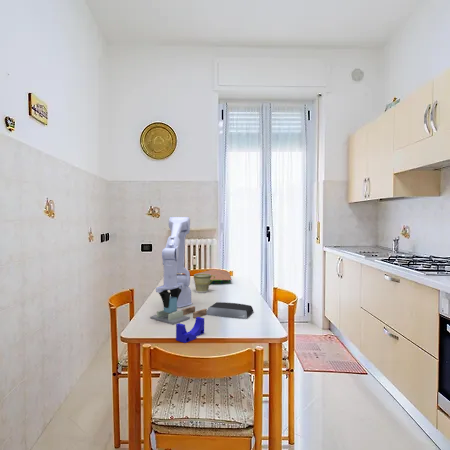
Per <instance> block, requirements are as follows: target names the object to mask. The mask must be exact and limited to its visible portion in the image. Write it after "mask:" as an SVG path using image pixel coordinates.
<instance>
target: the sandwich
mask: <svg viewBox="0 0 450 450" xmlns="http://www.w3.org/2000/svg"><path fill="white" fill-rule="evenodd" d="M201 273H203V274H210V275H214V276H215V279H214V276H212V277H211V278H210V282H211V281H212V280H213V279H214V280H213V281H212V282H214V284H223V283H224V284H226V283H228V282H229V283H232V282H231V281H232V276H231V274H230V272H229V271H226V270H221V269H215V268H213V269H209V270H205V271H201V272H198V273H197V274H201ZM212 282H211V283H210V284H209V285H211V284H212ZM224 284H223V285H224Z"/></svg>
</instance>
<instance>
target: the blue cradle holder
mask: <svg viewBox="0 0 450 450" xmlns="http://www.w3.org/2000/svg"><path fill="white" fill-rule="evenodd" d="M204 334H205V318H204V317H202V316H201V317H196V318H195V321H194V325H193V327H192V328H191V329H190V330H189V331H187V328H186V325H185V324H184V323H181V322H180V323H177V324H175V340H176V341H177V342H180V343H184V344H186V343H189V342H192V341H193V340H197V337H198V336H202V335H204Z"/></svg>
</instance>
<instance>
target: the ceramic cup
mask: <svg viewBox="0 0 450 450" xmlns="http://www.w3.org/2000/svg"><path fill="white" fill-rule="evenodd" d="M200 273H201V272H200ZM212 276H214V275H210V274H203V273H201V274H198V273H195V274H193V280H194V287H195V292H196V293H198V294H205V293H208V292H209V287H210V285H211V284H212V283H213V282H214V281H213V280H214V279H215V276H214V279H213V280H212V281H211V282H210V278H211V277H212ZM210 283H211V284H210Z"/></svg>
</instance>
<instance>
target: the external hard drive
mask: <svg viewBox="0 0 450 450" xmlns="http://www.w3.org/2000/svg"><path fill="white" fill-rule="evenodd" d="M253 313H254V309H253V306H252V305H250V304H243V303H238V302H237V303H235V302H221V301H220V302H219V301H217V302H215V303H213V304H212V305H210V306H209V307H207V313H206V315H205V316H211V317H219V318H226V319H238V320H248V319H249V318H250V317H251V316H252V315H253Z"/></svg>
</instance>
